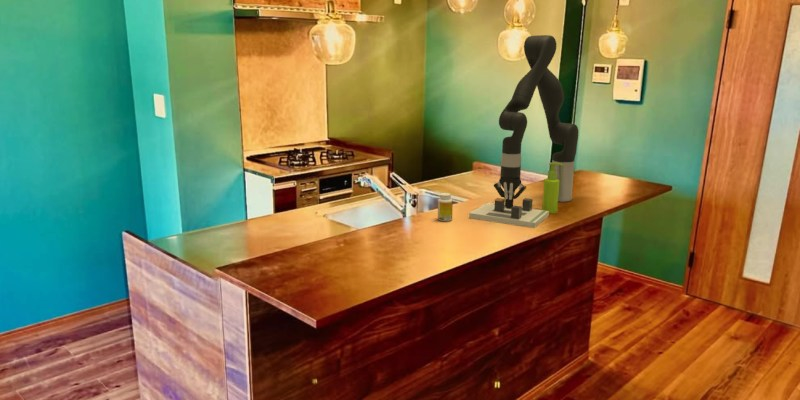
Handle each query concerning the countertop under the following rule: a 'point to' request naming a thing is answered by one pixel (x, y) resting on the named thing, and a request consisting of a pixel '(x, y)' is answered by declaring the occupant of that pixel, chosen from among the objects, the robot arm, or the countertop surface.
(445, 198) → the supplement bottle
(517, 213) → the block
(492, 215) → the breaker panel
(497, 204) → the breaker mid
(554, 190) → the soap dispenser
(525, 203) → the breaker
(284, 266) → the countertop surface
